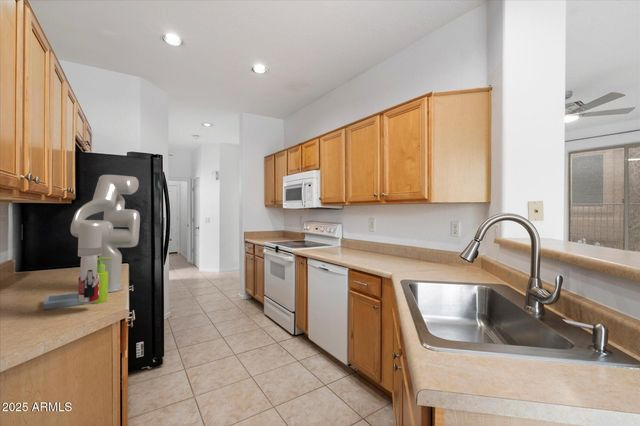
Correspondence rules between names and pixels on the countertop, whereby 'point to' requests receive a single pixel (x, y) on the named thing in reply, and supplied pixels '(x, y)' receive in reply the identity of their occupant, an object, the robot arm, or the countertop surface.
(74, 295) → the slate tray
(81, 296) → the soda can
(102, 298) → the soap dispenser
